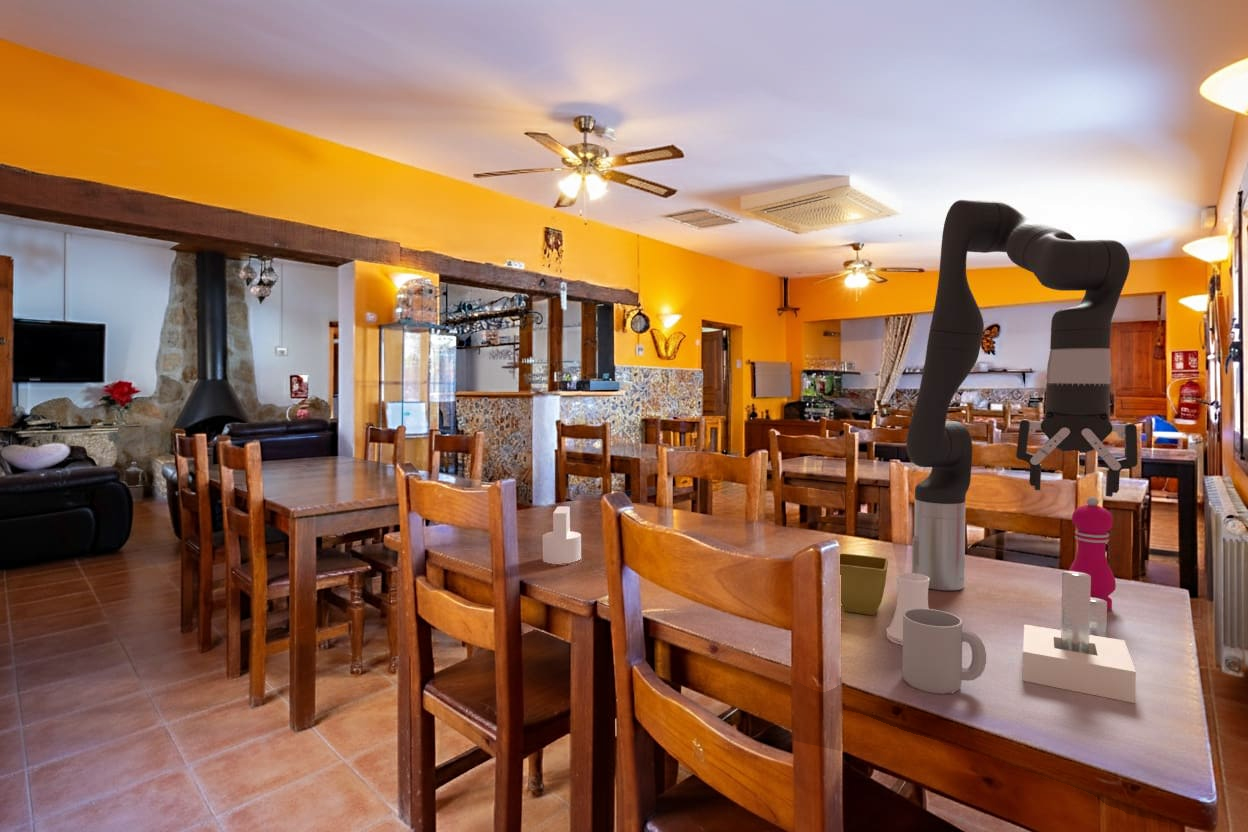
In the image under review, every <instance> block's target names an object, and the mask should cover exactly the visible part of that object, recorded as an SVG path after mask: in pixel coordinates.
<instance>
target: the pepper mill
mask: <svg viewBox="0 0 1248 832" xmlns="http://www.w3.org/2000/svg"><path fill="white" fill-rule="evenodd" d="M1113 518H1114V517H1113V515H1112V514H1111V512H1110V511H1109V510H1108V509H1106V508H1105V507H1102V506H1100V505H1099V499H1098V498H1097V497H1095V496H1089V497H1087V498H1086V505H1085V504H1084V505H1081V506H1078V507H1077V508H1075V510H1073V513H1072V516H1071V520H1072V524H1073V525H1074V526H1075V528H1076V530H1075V531H1074V533H1075V536H1074V538H1075V539H1076V540H1077V553H1076V555H1075V558H1074V560H1073V561H1072V564H1071V565H1070V567H1069V569H1068V571H1075V572H1082V573H1086V574H1089V575H1090V576H1091V590H1090V597H1093V598H1098V599H1102V600H1105V601H1106V602H1107V612H1110V611H1111V610H1112V608H1113V599H1112V598H1111V597H1109V596H1110V595H1111V594H1113V593H1114V592H1115V591H1116V588H1117V586H1116V585H1117V584H1116V578H1115V576H1114V573H1113V571H1112V569H1111V567H1110V565H1109V562H1108V559H1107V552H1106V546H1107V543H1108V542H1109V541H1110V539H1109V536H1110V534H1109V533H1108V531H1109V530H1111V528H1112V527H1113V523H1114V519H1113Z"/></svg>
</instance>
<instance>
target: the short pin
mask: <svg viewBox="0 0 1248 832" xmlns="http://www.w3.org/2000/svg"><path fill="white" fill-rule="evenodd" d="M1107 614H1108V611H1107V602H1106V601H1105V600H1102V599H1098V598H1093V597H1090V631H1089V635H1093V636H1100V637H1106V638H1107V625H1108V624H1107V622H1108V621H1107V617H1108V616H1107Z"/></svg>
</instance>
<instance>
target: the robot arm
mask: <svg viewBox="0 0 1248 832" xmlns="http://www.w3.org/2000/svg"><path fill="white" fill-rule="evenodd" d="M942 230H943V231H942V236H941V245H940V248H941V249H940V259H939V273H938V282H937V287H936V288H937V290H936V295H935V303H934V308H933V310H932V311H933V312H932V317H931V322H930V326H929V331H928V332H929V333H928V339H927V343H926V344H927V345H926V350H925V351H926V354H925V360H924V366H923V370H922V375H921V381H920V385H919V391H918V395H917V399H916V402H915V405H914V409H913V413H912V416H911V419H910V423H909V427H908V431H907V435H906V450H907V451H906V452H907V455H908V458H909V459H910V461H911V462H912V463H913V464H914V465H915V466H917V467H920V468H921V467H922V468H931V471H930V473H929V475H928V476H927V477H926V478H925V479H924V480H922V481H921V482H919V483H917V484H916V486H915V488H914V533H913V534H914V536H913V537H912V540H911V541H912V545H911V546H912V548H911V550H912V551H911V555H912V556H911V573H916V574H921V575H925V576H927V577H929V578H930V580H929V587H928V589H932V590H936V591H937V590H938V591H959V590H963V589H964V588H965V577H966V576H965V567H966V564H965V563H966V562H965V561H966V559H965V558H966V557H965V555H966V554H965V553H966V499H967V498H966V495H967V492H968V490H969V488H970V485H971V479H972V478H971V477H972V466H973V465H972V464H973V463H972V462H973V439H972V435H971V433H970V431H969V430H968V428H967V427H966V425H964V424H963V423H961V422H960V421H956V420H947V417H948V412H949V407H950V405H951V402H952V399H953V397H954V395H955V394H956V392H957V390H959V388H960V386H961V385H963V383H964V381H965V380H966V378H967V377H968V376H969V374H970V373H971V372H972V369H973V368H974V366H975V365H976V363H977V361H978V358H979V355H980V351H981V350H980V349H981V345H982V341H983V340H982V339H983V334H984V327H985V324H984V318H983V314H982V312H981V310H980V307H979V305H978V303H977V301H976V299H975V297H974V294H973V292H972V290H971V287H970V285H969V281H968V276H967V256H968V253H983V254H987V253H1006V254H1007V257H1008V258H1009V260H1010V261H1011V262H1012V263H1013V264H1015V265H1016V266H1018V267H1020V268H1021V269H1024V270H1027V271H1029V272H1031V273H1033V275H1034V276H1035V278H1037V280H1038V282H1039V283H1040V284H1041V285H1042V286H1043V287H1045V288H1048V289H1051V290H1056V291H1061V292H1062V291H1067V292H1068V291H1069V292H1071V291H1073V292H1074V291H1085V294H1084V296H1083V298H1082V300H1081V301H1080V303H1079V304H1078V305H1076V306H1072V307H1071V306H1070V307H1067V308H1061V309H1059V310H1057V311H1055V312H1054V314H1053V316H1052V318H1051V326H1050V343H1049V348H1050V349H1049V355H1048V361H1047V366H1046V367H1047V368H1046V375H1045V378H1046V384H1045V385H1046V386H1045V387H1046V389H1045V408H1044V418H1043V420H1042V421H1035V420H1029V419H1027V418H1025V419H1024V418H1023V419H1021V421H1020V423H1019V429H1018V438H1017V439H1018V440H1017V445H1016V454H1015V456H1016V458H1017V459H1018V460H1020V461H1024V462H1026V463H1028V465H1029V481H1028V482H1029V485H1030V486H1031V487H1034V491H1041V484H1042V483H1041V481H1042V463H1041V462H1042V461H1043V460H1044V459H1045V458H1046V457H1047V456H1048V455H1049V454H1051V453H1052V452H1053V451H1054V450H1055V449H1058V450H1060V451H1061V452H1071V451H1077V452H1080V453H1089V452H1092V451H1094V450H1095V451H1096V453H1097V454H1098V455H1099V456H1100V458H1101V459H1102V460H1103V461H1104V462H1105V463H1106V464H1107V466H1108V468H1106V471H1105V472H1106V476H1105V493H1104V494H1105V497H1110V498H1113V494H1118V492H1119V491H1120V479H1121V478H1120V475H1121V471H1122V470H1124V469H1127V468H1134V467H1137V465H1138V462H1139V461H1138V431H1137V429H1138V428H1137V426H1136V424H1134V423H1132V422H1127V423H1121V424H1120V423H1119V424H1117V423H1113V424H1112V423H1111V422H1110V417H1109V415H1110V396H1111V395H1110V394H1111V378H1112V360H1111V350H1110V347H1111V331H1112V330H1111V329H1112V320H1113V316H1114V314H1115V311H1116V307H1117V305H1118V303H1119V299H1120V296H1121V294H1122V291H1123V288H1124V287H1125V284H1126V281H1127V279H1128V276H1129V272H1130V266H1131V259H1130V255H1129V252H1128V250H1127V248H1126V246H1124V244H1122V243H1121V242H1120V241H1118V240H1112V239H1076V238H1075V237H1074V236H1073V235H1072V234H1070V233H1069V232H1067V231H1064V230H1062V229H1059V228H1056V227H1052V226H1049V225H1046V224H1043V223H1039V222H1035V221H1033V220H1031V219H1030V218H1029V217H1027V216H1026V215H1024V214H1023V213H1021V212H1020V211H1019V210H1017V209H1016V208H1015V207H1013V206H1011V205H1010V204H1007V203H1005V202H1002V201H993V200H992V201H991V200H975V199H958V200H956V201H954V203H952V205H951V206H950V207H949V209H948V211H947V213H946V216H945V220H944V223H943V229H942ZM1038 429H1041V431H1042V433H1044V434H1045V436H1046V437H1047V438H1048V440H1046V441H1045V443H1043V445H1041V446H1040V448H1039V449H1037V451H1036V452H1035V453H1034V454H1033V453H1030V452H1028V442H1029V436H1032V435H1035V433H1036V430H1038ZM1112 432H1115V433H1116V434H1117V437H1118V438H1119V439H1120V440H1123V441H1124V457H1123V458H1119V459H1116V457H1115V456H1114V455H1113V454H1112V453H1111V452H1110V450H1109V449H1108V448H1107V447H1106V446H1105V445H1104V443H1103V441H1104V440H1106V439H1107V437H1108V436H1110V435H1111V434H1112Z"/></svg>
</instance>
